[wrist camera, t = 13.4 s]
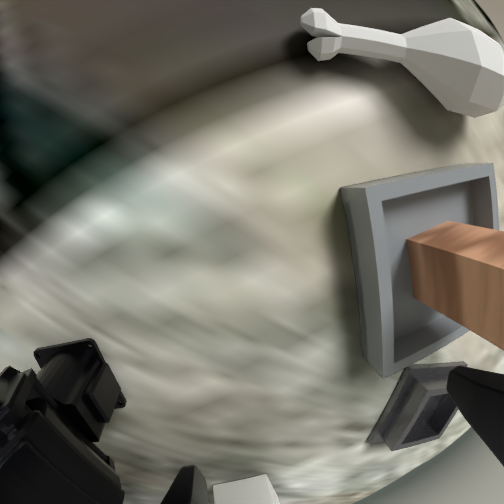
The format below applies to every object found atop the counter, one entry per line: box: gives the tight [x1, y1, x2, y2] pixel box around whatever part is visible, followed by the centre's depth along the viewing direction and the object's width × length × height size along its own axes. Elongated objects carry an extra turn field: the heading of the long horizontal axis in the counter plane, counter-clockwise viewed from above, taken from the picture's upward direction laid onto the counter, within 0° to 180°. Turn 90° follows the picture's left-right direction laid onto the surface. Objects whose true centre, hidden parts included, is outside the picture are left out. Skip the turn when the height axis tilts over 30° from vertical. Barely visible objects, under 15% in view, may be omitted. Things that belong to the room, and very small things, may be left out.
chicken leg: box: [300, 8, 504, 117], centre depth 15 cm, size 8×18×8 cm, turn 91°
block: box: [406, 221, 504, 350], centre depth 15 cm, size 5×5×12 cm
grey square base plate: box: [367, 361, 468, 451], centre depth 24 cm, size 10×10×3 cm
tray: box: [340, 163, 499, 378], centre depth 20 cm, size 14×14×4 cm
